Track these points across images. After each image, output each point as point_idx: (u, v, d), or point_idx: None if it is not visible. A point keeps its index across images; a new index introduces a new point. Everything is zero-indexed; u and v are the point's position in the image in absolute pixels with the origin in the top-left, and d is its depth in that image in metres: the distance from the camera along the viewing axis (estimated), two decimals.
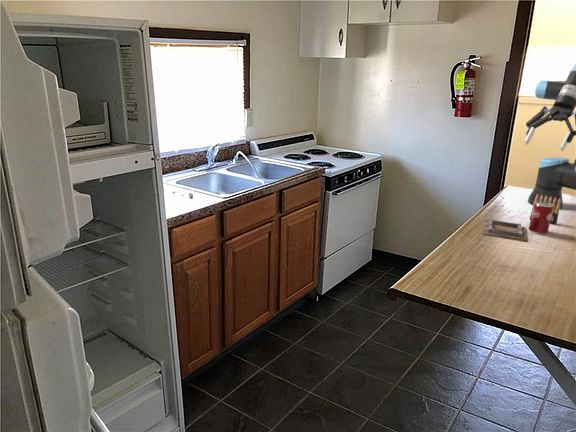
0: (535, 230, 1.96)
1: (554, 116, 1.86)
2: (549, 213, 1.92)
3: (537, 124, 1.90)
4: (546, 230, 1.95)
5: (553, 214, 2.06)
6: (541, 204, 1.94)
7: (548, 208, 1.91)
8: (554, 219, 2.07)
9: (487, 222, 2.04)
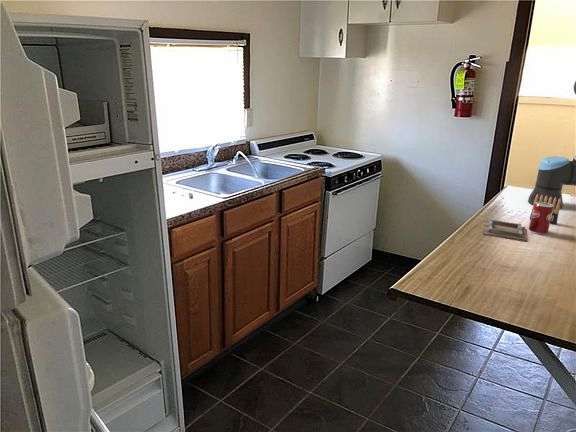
0: (535, 230, 1.96)
1: None
2: (549, 213, 1.92)
3: None
4: (546, 230, 1.95)
5: (553, 214, 2.06)
6: (541, 204, 1.94)
7: (548, 208, 1.91)
8: (554, 219, 2.07)
9: (487, 222, 2.04)
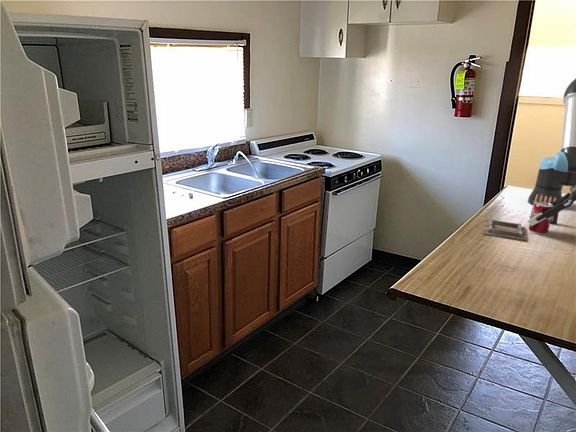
0: (535, 230, 1.95)
1: None
2: None
3: None
4: (546, 230, 1.95)
5: None
6: (541, 204, 1.94)
7: (548, 208, 1.91)
8: (554, 219, 2.07)
9: (487, 222, 2.04)
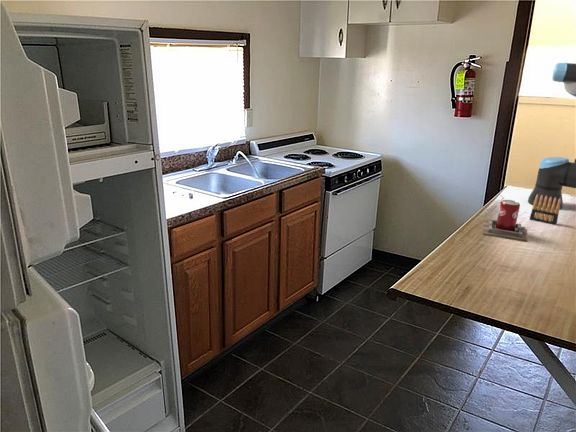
0: (502, 229, 1.94)
1: None
2: (515, 211, 1.90)
3: None
4: (512, 228, 1.93)
5: (553, 214, 2.06)
6: (507, 202, 1.92)
7: (513, 206, 1.89)
8: (554, 219, 2.07)
9: (487, 222, 2.04)
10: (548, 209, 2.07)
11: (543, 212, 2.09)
